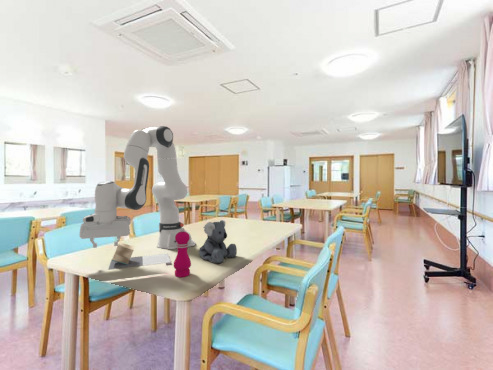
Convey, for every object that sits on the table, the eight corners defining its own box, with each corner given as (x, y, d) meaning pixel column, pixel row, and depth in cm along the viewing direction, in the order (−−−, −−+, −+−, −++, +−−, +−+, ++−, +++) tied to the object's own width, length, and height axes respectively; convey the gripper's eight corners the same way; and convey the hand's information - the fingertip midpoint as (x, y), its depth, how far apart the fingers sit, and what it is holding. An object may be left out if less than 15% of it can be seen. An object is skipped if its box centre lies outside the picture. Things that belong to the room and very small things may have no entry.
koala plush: (218, 265, 120) (218, 224, 119) (191, 258, 130) (191, 220, 129) (239, 256, 134) (239, 219, 134) (213, 250, 144) (213, 216, 144)
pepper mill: (175, 271, 112) (175, 226, 111) (192, 271, 112) (192, 226, 112) (172, 278, 104) (172, 229, 104) (189, 277, 105) (189, 229, 104)
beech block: (128, 260, 124) (134, 246, 125) (127, 264, 117) (133, 250, 118) (113, 256, 121) (119, 242, 122) (111, 260, 115) (118, 245, 115)
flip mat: (167, 255, 135) (167, 253, 135) (171, 264, 121) (171, 262, 121) (111, 261, 124) (111, 259, 124) (108, 271, 111) (108, 269, 111)
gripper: (130, 214, 123) (130, 243, 124) (81, 216, 115) (81, 246, 116) (130, 216, 118) (130, 246, 118) (78, 218, 110) (78, 250, 110)
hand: (105, 246), depth 117 cm, fingers open, 7 cm apart
